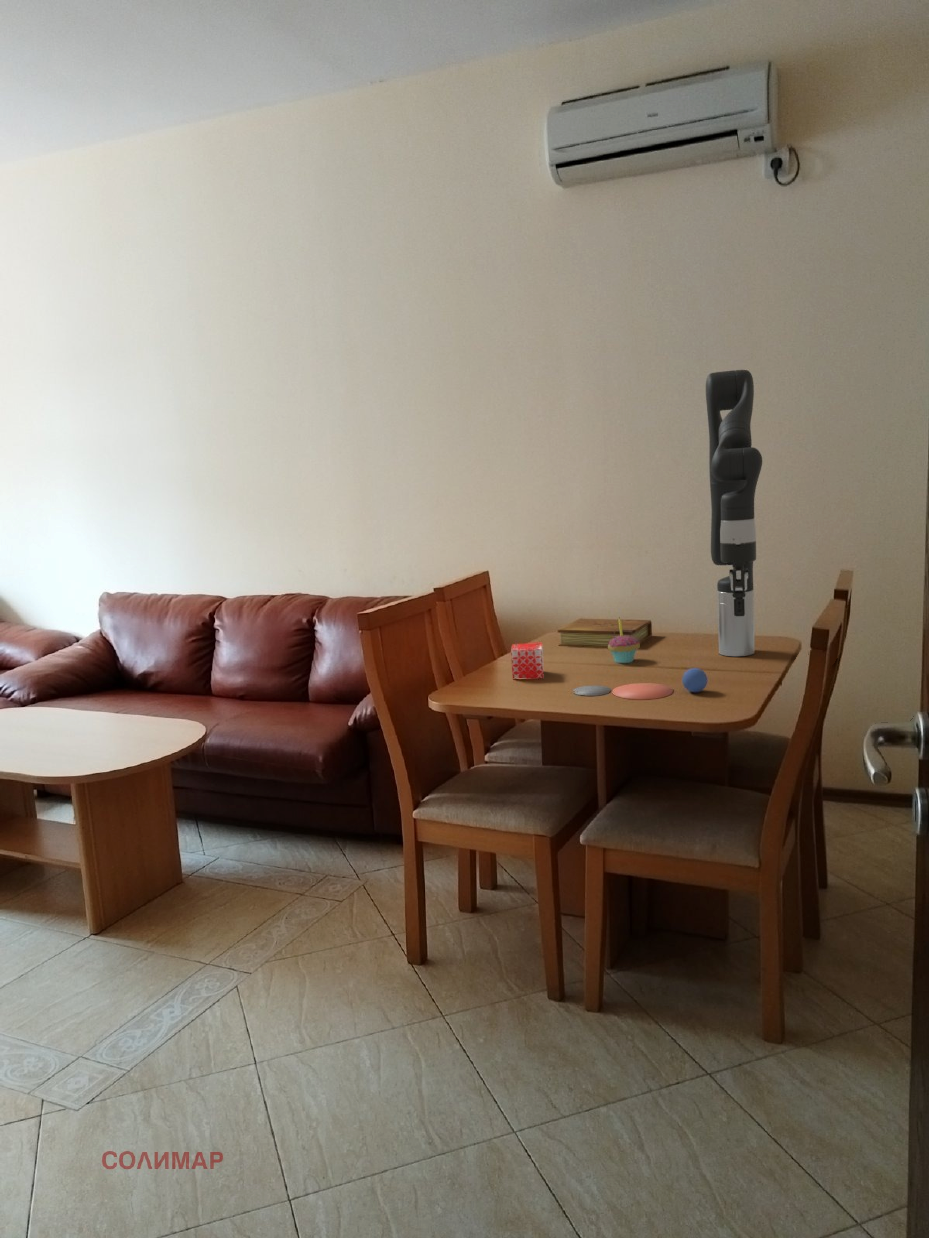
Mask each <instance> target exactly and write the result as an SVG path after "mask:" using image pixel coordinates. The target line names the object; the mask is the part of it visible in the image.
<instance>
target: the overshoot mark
mask: <svg viewBox="0 0 929 1238" xmlns="http://www.w3.org/2000/svg"><path fill="white" fill-rule="evenodd" d="M573 691H575V692H573ZM577 691H578V692H577ZM610 692H612V690H611V688H610V687H609V686H604V685H583V686H579V687H576V688H574V689H573V690H572V693H573V694H574V693H575V694H574V695H577V696H580V695H585V696H584V697H597V696H604V695H607V694H610Z"/></svg>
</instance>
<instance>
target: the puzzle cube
mask: <svg viewBox="0 0 929 1238" xmlns="http://www.w3.org/2000/svg"><path fill="white" fill-rule="evenodd" d="M510 655H511V656H510V657H511V658H510V659H511V672H512V679H513V678H543V679H544V674H543V671H544V672H545V670H544V669H545V666H544V651H543V642H531V643H514V644H513V643H512V644H511V649H510Z"/></svg>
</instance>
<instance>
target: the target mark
mask: <svg viewBox="0 0 929 1238" xmlns="http://www.w3.org/2000/svg"><path fill="white" fill-rule="evenodd" d="M611 692H612V694H613V695H614V696H616V697H617V698H622V699H626V700H637V701H638V700H639V701H642V700H643V701H644V700H646V701H647V700H654V699H655V700H657V699H661V698H666V697H668V696H671V695H672V694H673V693H674V689H673V687H671V686H668V685H665V684H661V683H650V682H648V683H647V682H638V683H629V684H623V685H620V686H616V687H614V688H613V690H611Z"/></svg>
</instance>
